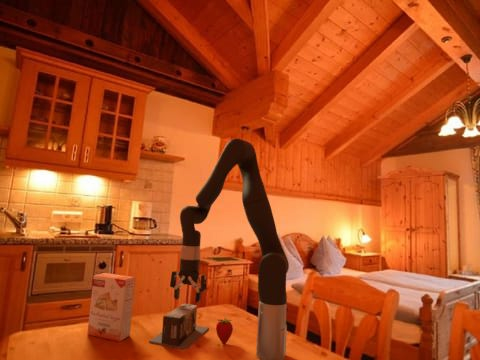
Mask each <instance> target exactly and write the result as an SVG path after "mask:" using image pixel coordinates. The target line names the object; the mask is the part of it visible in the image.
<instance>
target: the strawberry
mask: <svg viewBox="0 0 480 360" xmlns="http://www.w3.org/2000/svg"><path fill="white" fill-rule="evenodd" d="M223 317H224V318H223V319H217V321H218V323H217V324H216V327H215V329H216V330H215V331H216V334H217V337H218V338H219V340H220V342H221V344H222V345H224V346H226V344H227V343H228V341H230V340H229V339H230V338H231V336H232V334H233V331H234V327H233V324H232V322H231V321H232V320H231V319H227V318H226V316H225V315H223Z"/></svg>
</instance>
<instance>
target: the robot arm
mask: <svg viewBox="0 0 480 360" xmlns="http://www.w3.org/2000/svg"><path fill="white" fill-rule="evenodd" d="M236 165H237V167H238V168H239V172H240V174H241V179H242V193H241V194H242V195H241V199H242V205H243V210H244V212H245V216H246V218H247V221H248V224H249V225H250V227H251V229H252V231H253V233H254V235H255V236H256V238H257V241H258V245H259V249H260V252H261V257H262V258H261V259H260V261H259V263H258V272H257V274H258V275H257V291H258V314H257V331H256V333H257V334H256V335H257V336H256V357H257V358H258V359H259V360H285V358H286V356H287V355H286V354H287V333H288V332H287V328H288V325H287V299H288V295H287V289H286V288H287V274H288V272H289V265H290V263H289V259H288V257H287V255H286V253H285V250H284V248H283V245H282V243H281V241H280V239H279V236H278V232H277V228H276V227H277V225H276V222H275V218H274V213H273V210H272V206H271V204H270V200H269V198H268V195H267V192H266V188H265V184H264V181H263V179H262V176H261V172H260V169H259V163H258V159H257V152H256V150H255V147H254V146H253V144H252V143H251V142H249V141H247V140H243V139H242V138H232V139H230V140H229V141H228V142H227V143H226V145H225V146H224V148H223V150H222V152H221V154H220V156H219V158H218V160H217V161H216V164H215V166H214V167H213V170H212V171H211V172H210V173H211V174H210V175H209V177H208V178H207V180H206V182H205V183H204V185H202V187H201V188H200V190H199V191H198V192H197V194H196V196H195V202H196V204H197V205H185V206H184V207H182V208H181V210H180V214H179V221H180V227H181V232H182V240H181V241H182V242H181V249H180V258H179V259H180V260H179V271H178V270H174V271H172V272H171V277H170V283H169V284H170V285H169V287H170V288H173V289H174V294H173V298H174V300H175V301H176V300H179V298H180V293H181V289H180V288H181V287H182V285H184V286H185V285H188V286H192V288H194V290H195V291H196V292H195V300H194V302H195V304H197V303H199V302H201V299H202V298H201V297H202V292H204V291H206V290H207V282H208V281H207V274H206V273H204V274H200V261H201V260H200V259H201V240H202V239H201V236H202V234H201V232H200V231H199V230H196V228H195V225H200V224H202V223H203V222H205V220H206V219H207V217H208V215H209V213H210V211H211V207H212V205H213V204H214V203H215V202H216V200H217V199H218V197H219V196H220V194H221V193H222V192H223V188H224V185H225V182H226V179H227V177H228V175H229V174H230V172H231V171H232V170H233V169H234V167H236ZM177 278H179V280H178V281H177ZM199 280H200V282H199Z"/></svg>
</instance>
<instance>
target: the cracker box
mask: <svg viewBox="0 0 480 360" xmlns="http://www.w3.org/2000/svg"><path fill="white" fill-rule="evenodd" d="M92 279H93V280H92V286H91V287H92V288H91V297H90V298H91V299H90V304H89V305H90V307H89V315H88V316H89V317H88V323H87V336H91V337H92V336H93V337H97V338H102V339H106V340H111V341H115V342H121V341H123V340H125V339H127V338H128V337H130V335H131V328H132V327H131V325H132V317H133V304H134V296H135V286H136V285H135V283H136V277H135V276H128V275H122V274H116V273H115V274H114V273H108V272H103V273H98V274H94V275H93V278H92Z"/></svg>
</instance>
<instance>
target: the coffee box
mask: <svg viewBox="0 0 480 360" xmlns="http://www.w3.org/2000/svg"><path fill="white" fill-rule="evenodd" d="M197 313H198V305H196V304H189V303H182V304H180V305H179V306H177V307H175V309H173V310H171V311H170V312H169V313H167V314H165V315H163V318H162V332H161V333H162V344H168V345H173V346H179V345H180V344H181V343H182V342H183V341H184V340H185V339H186V338H187V337H188V336H189V335H190V334H191V333H192V332H193V331H194V330H195V329H196V325H197Z"/></svg>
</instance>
